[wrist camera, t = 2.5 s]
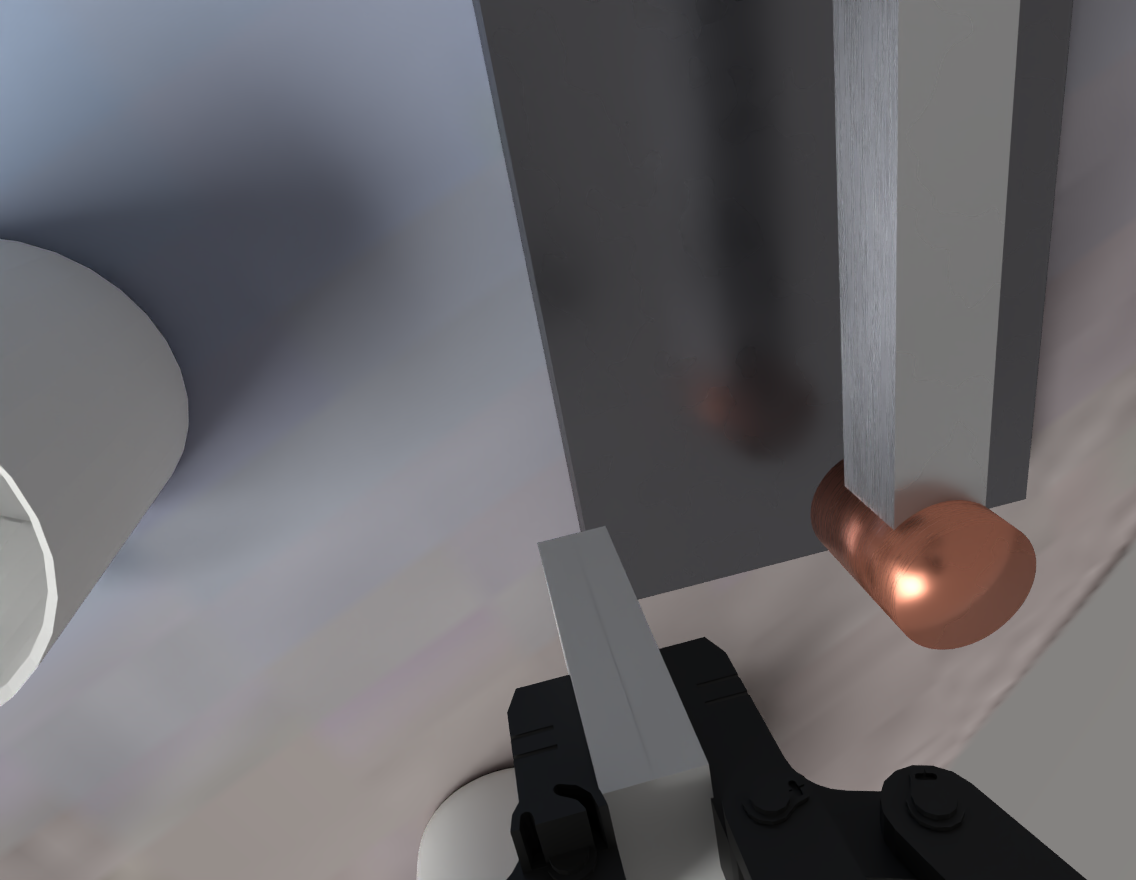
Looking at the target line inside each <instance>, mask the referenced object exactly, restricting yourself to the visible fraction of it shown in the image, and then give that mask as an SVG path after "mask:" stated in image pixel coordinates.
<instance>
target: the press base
mask: <svg viewBox="0 0 1136 880" xmlns="http://www.w3.org/2000/svg"><path fill="white" fill-rule="evenodd" d="M472 1H473V6H474V11H475V16H476V21H477V25H478V30H479V35H480V40H481V45H482V50H483V55H484V60H485V65H486V70H487V74H488V79H489V84H490V89H491V94H492V99H493V104H494V109H495V114H496V119H497V123H498V128H499V133H500V138H501V143H502V148H503V153H504V158H505V163H506V168H507V172H508V177H509V182H510V187H511V192H512V197H513V202H514V207H515V212H516V217H517V222H518V226H519V231H520V236H521V241H522V246H523V251H524V256H525V261H526V266H527V271H528V275H529V280H530V285H531V290H532V295H533V300H534V305H535V310H536V315H537V320H538V324H539V329H540V334H541V339H542V344H543V349H544V354H545V359H546V364H547V369H548V373H549V378H550V383H551V388H552V393H553V398H554V403H555V408H556V413H557V418H558V423H559V427H560V432H561V437H562V442H563V447H564V452H565V457H566V462H567V467H568V472H569V476H570V481H571V486H572V491H573V496H574V501H575V506H576V511H577V516H578V521H579V525H580V530H581V532H583V531H587V530H591V529H595V528H599V527H603V526H606V529H607V531H608V533H609V535H610V538H611V540H612V542H613V545H614V547H615V549H616V552H617V554H618V556H619V559H620V561H621V563H622V565H623V568H624V570H625V572H626V575H627V577H628V579H629V582H630V584H631V586H632V588H633V591H634V593H635V595H636V598H637V600H638V599H642V598H646V597H650V596H654V595H657V594H661V593H665V592H669V591H673V590H677V589H681V588H684V587H688V586H692V585H696V584H700V583H704V582H708V581H711V580H715V579H719V578H723V577H727V576H731V575H735V574H738V573H742V572H746V571H750V570H754V569H758V568H761V567H765V566H769V565H773V564H777V563H781V562H785V561H788V560H792V559H796V558H800V557H804V556H808V555H812V554H815V553H819V552H823V551H827V550H828V549H827V548H826V547H825V546H824V545H823V544H822V543H821V542H820V540H819V539H818V538H817V536H816V535H815V532H814V530H813V527H812V524H811V517H810V516H811V504H812V500H813V497H814V494H815V492H816V489H817V487H818V486H819V484H820V482H821V481H822V479H823V478H824V476H825V475H826V474H827V473H828V472H829V471H830V469H831V468H832V467H834V466H835V465H836V464H837V463H838V462H839V461H841V460H842V459H844V443H843V402H842V361H841V321H840V280H839V240H838V199H837V158H836V118H835V77H834V37H833V0H472ZM1072 7H1073V0H1020V11H1019V26H1018V40H1017V55H1016V70H1015V84H1014V99H1013V113H1012V128H1011V142H1010V157H1009V171H1008V186H1007V200H1006V215H1005V229H1004V244H1003V258H1002V273H1001V288H1000V302H999V317H998V331H997V346H996V360H995V375H994V389H993V404H992V418H991V433H990V447H989V462H988V476H987V491H986V505H985V507H987V508H988V509H989V508H993V507H997V506H1000V505H1004V504H1008V503H1012V502H1016V501H1020V500H1024V499H1026V490H1027V480H1028V469H1029V459H1030V448H1031V438H1032V427H1033V417H1034V406H1035V396H1036V385H1037V375H1038V364H1039V354H1040V343H1041V333H1042V322H1043V312H1044V301H1045V291H1046V280H1047V270H1048V259H1049V248H1050V238H1051V227H1052V217H1053V206H1054V196H1055V185H1056V175H1057V164H1058V154H1059V143H1060V133H1061V122H1062V112H1063V101H1064V91H1065V80H1066V70H1067V59H1068V49H1069V38H1070V28H1071V17H1072Z"/></svg>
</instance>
